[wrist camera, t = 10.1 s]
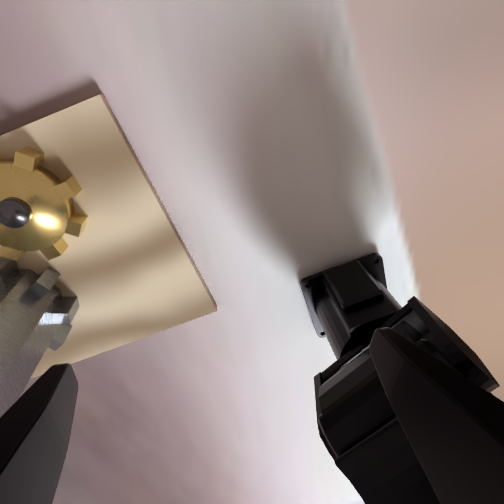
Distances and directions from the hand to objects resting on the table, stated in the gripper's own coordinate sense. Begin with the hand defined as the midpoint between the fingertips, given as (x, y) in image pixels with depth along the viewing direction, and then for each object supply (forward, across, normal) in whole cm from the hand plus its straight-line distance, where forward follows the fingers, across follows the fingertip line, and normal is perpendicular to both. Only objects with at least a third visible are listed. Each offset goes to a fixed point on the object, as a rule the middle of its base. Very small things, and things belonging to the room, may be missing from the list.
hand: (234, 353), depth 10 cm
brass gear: (+13, +11, 0) cm, 17 cm away
